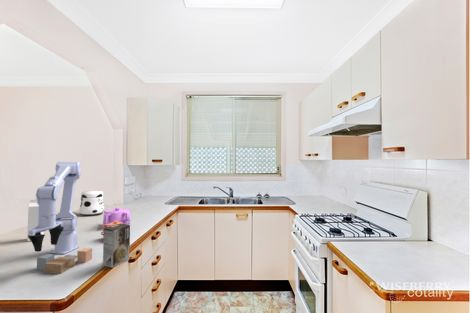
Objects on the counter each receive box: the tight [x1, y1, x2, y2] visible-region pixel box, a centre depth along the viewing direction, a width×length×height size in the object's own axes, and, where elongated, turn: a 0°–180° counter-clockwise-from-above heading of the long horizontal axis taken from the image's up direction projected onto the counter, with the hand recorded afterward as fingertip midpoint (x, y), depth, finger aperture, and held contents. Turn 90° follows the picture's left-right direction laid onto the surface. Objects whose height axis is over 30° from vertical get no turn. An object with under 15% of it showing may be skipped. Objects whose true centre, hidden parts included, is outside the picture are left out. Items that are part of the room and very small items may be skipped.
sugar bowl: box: [100, 221, 123, 238], centre depth 139 cm, size 12×14×10 cm
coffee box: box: [102, 223, 131, 269], centre depth 107 cm, size 9×6×16 cm
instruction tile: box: [63, 254, 77, 259], centre depth 110 cm, size 8×6×1 cm
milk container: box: [79, 190, 105, 216], centre depth 197 cm, size 17×17×18 cm
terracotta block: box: [76, 247, 93, 264], centre depth 109 cm, size 4×4×5 cm
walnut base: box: [44, 256, 76, 274], centre depth 100 cm, size 7×7×4 cm
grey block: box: [36, 253, 55, 271], centre depth 101 cm, size 4×4×5 cm
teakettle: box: [102, 206, 131, 228], centre depth 166 cm, size 17×17×12 cm
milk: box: [26, 199, 45, 242], centre depth 135 cm, size 6×6×22 cm
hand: (46, 247), depth 101 cm, fingers open, 7 cm apart
